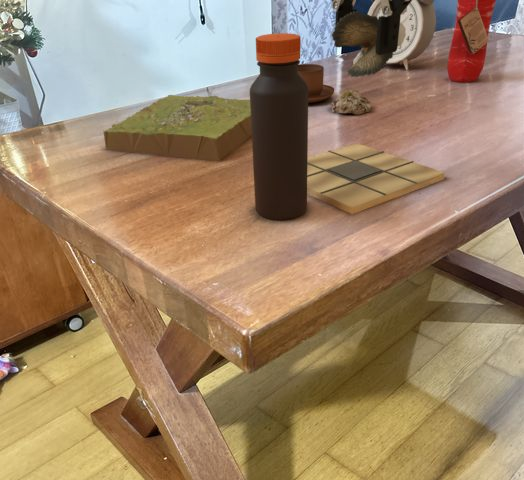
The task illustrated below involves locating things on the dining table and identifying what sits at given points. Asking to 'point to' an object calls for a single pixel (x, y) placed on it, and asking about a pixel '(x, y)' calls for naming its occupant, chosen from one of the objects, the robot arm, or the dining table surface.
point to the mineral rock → (351, 103)
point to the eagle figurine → (363, 42)
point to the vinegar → (279, 128)
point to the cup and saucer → (315, 82)
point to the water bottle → (469, 39)
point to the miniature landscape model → (184, 128)
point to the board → (364, 177)
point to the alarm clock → (412, 29)
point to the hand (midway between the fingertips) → (364, 48)
